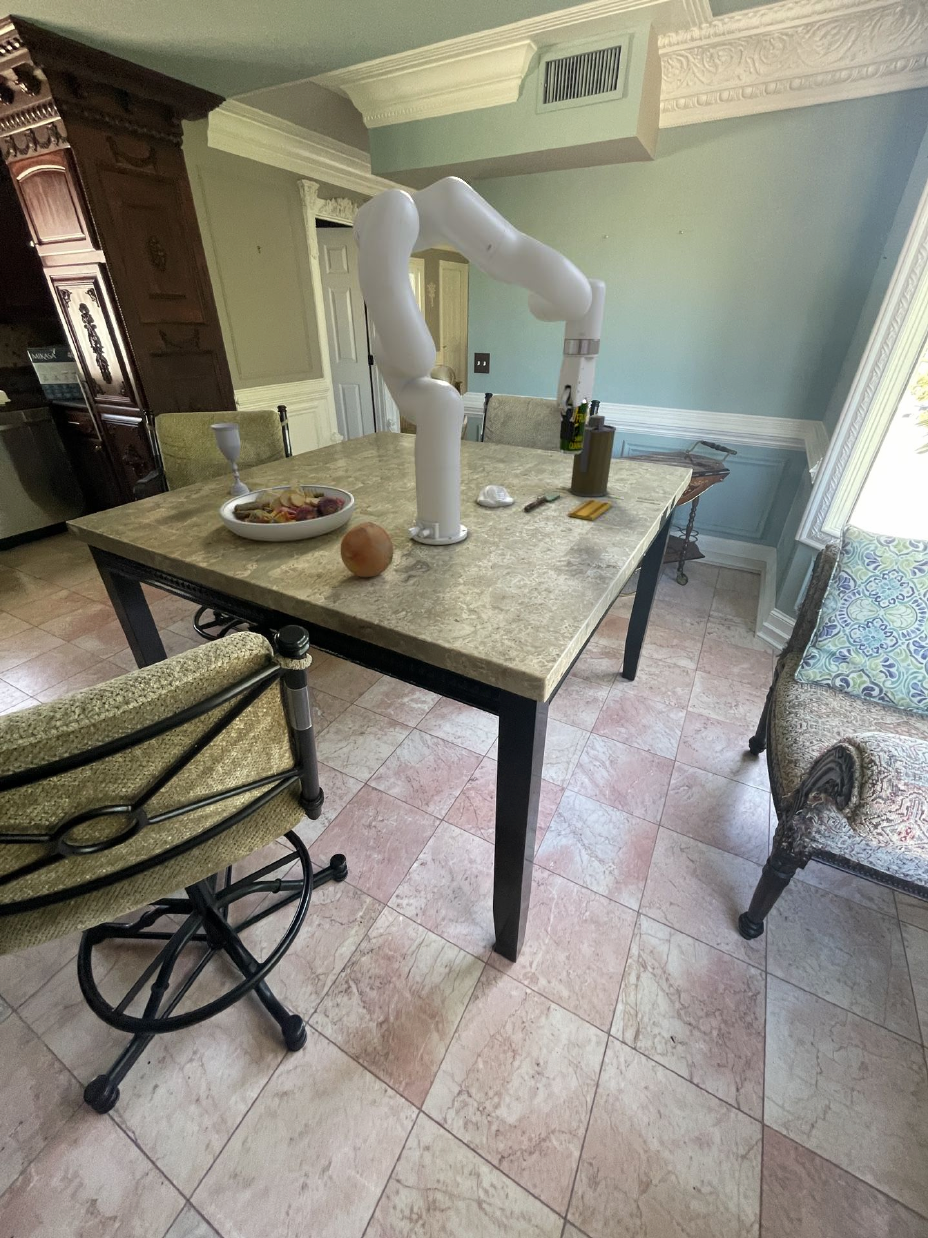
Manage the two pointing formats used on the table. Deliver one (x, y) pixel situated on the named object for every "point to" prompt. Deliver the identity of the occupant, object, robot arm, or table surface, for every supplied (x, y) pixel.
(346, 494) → the bowl
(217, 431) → the chalice
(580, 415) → the beer can
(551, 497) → the spatula
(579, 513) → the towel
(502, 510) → the table surface
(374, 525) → the onion
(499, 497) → the rose
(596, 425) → the canister
